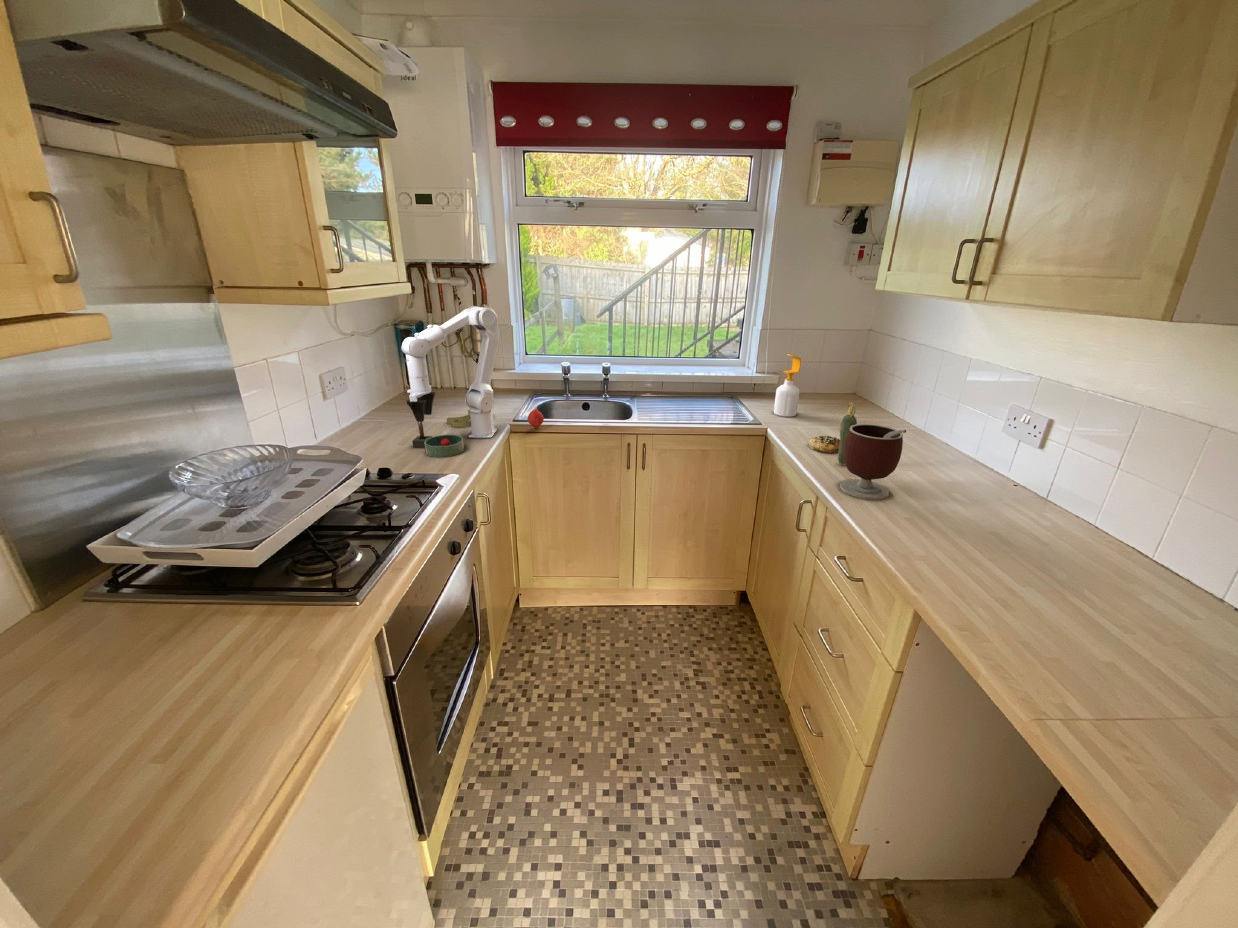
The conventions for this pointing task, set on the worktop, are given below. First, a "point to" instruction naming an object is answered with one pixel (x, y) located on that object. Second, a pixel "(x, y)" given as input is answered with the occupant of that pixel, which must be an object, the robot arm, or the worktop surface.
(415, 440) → the holder
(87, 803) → the worktop surface
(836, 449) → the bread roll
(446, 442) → the ball
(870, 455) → the mate gourd
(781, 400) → the soap bottle
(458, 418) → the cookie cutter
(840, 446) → the vegetable
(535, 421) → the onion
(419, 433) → the stick
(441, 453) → the bowl
